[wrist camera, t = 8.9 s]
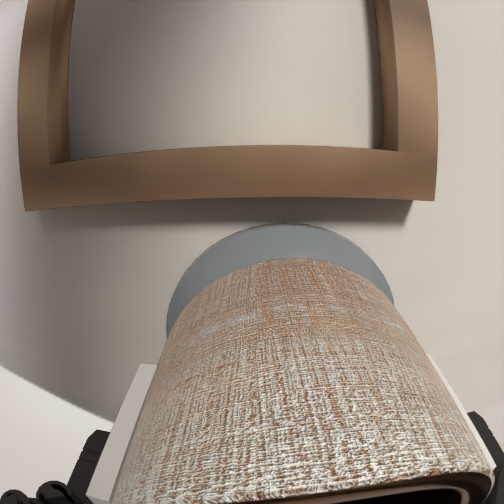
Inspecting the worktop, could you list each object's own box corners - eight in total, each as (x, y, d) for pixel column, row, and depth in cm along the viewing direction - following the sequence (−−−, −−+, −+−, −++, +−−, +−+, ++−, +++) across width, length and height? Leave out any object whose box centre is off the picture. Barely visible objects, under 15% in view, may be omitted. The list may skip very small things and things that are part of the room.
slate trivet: (156, 225, 15) (151, 229, 14) (404, 223, 14) (411, 227, 14) (185, 407, 19) (183, 415, 18) (368, 401, 18) (371, 409, 18)
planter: (133, 286, 13) (13, 470, 4) (387, 221, 12) (564, 375, 3) (215, 441, 17) (199, 585, 8) (396, 402, 15) (450, 541, 6)
